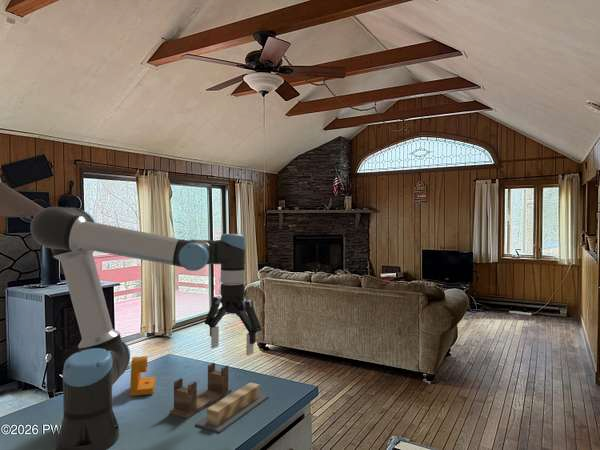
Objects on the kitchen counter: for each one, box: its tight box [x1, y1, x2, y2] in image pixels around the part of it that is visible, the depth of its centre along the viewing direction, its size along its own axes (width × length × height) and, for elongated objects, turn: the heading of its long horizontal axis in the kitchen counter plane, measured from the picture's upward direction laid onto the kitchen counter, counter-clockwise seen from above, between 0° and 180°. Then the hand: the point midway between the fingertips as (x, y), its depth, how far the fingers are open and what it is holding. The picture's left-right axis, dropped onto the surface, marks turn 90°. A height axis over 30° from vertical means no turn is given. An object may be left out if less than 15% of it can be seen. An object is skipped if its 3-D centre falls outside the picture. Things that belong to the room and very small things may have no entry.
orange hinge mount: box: [129, 355, 157, 396], centre depth 143 cm, size 11×7×12 cm, turn 15°
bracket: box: [169, 362, 233, 419], centre depth 134 cm, size 22×7×10 cm, turn 153°
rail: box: [206, 382, 261, 426], centre depth 128 cm, size 22×4×4 cm, turn 152°
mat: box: [194, 393, 270, 434], centre depth 128 cm, size 26×9×1 cm, turn 152°
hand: (231, 350), depth 128 cm, fingers open, 13 cm apart
